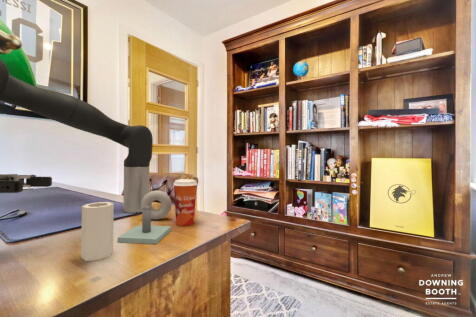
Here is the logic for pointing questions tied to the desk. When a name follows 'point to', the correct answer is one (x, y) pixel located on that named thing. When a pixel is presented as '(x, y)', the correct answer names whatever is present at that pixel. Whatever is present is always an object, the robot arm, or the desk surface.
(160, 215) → the donut
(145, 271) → the desk surface
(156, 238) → the peg stand
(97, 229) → the white octagonal tube
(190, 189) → the paper cup
